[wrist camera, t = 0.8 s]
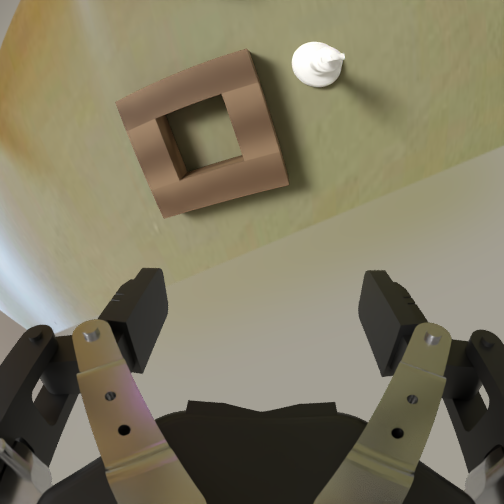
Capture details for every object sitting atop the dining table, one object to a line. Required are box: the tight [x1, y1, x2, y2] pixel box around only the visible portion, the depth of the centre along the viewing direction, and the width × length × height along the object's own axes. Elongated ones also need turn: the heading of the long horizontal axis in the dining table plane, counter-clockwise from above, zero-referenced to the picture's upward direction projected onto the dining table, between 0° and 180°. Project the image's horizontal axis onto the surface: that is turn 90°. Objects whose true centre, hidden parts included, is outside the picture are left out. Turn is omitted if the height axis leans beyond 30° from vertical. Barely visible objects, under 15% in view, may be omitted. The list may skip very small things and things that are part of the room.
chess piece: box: [292, 42, 345, 87], centre depth 21 cm, size 5×5×10 cm
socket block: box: [115, 49, 289, 219], centre depth 29 cm, size 14×14×3 cm
